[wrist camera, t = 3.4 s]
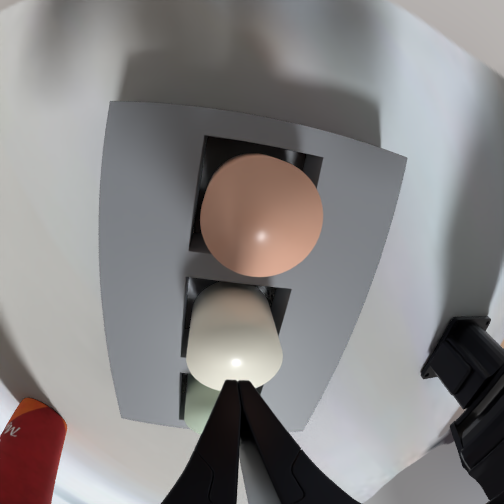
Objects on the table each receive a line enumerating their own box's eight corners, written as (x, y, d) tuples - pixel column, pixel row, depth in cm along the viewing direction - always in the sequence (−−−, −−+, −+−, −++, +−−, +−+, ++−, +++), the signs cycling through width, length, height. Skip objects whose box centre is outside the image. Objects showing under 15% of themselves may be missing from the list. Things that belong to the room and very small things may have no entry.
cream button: (277, 285, 14) (293, 327, 11) (261, 347, 16) (271, 393, 12) (195, 275, 14) (189, 317, 10) (189, 340, 15) (184, 388, 12)
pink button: (305, 162, 12) (335, 172, 9) (286, 247, 13) (307, 282, 10) (213, 145, 11) (210, 148, 8) (200, 235, 13) (193, 269, 10)
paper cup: (8, 377, 17) (-45, 487, 4) (76, 413, 19) (40, 540, 6) (19, 416, 20) (-16, 508, 7) (77, 445, 22) (54, 546, 9)
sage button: (253, 360, 17) (260, 402, 14) (243, 399, 19) (247, 438, 15) (189, 354, 17) (185, 397, 13) (186, 394, 18) (183, 434, 15)
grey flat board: (381, 153, 14) (407, 157, 11) (295, 406, 20) (302, 431, 18) (128, 106, 12) (110, 101, 9) (128, 393, 18) (121, 418, 16)
